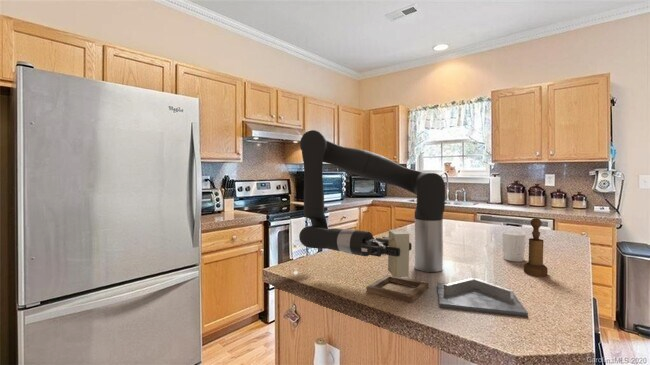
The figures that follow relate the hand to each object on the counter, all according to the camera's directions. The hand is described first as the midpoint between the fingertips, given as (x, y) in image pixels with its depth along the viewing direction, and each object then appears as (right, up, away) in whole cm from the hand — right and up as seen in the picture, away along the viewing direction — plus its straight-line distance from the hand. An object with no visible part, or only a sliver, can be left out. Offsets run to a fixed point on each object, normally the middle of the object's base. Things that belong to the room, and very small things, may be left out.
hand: (405, 249), depth 89 cm
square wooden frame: (-2, -12, +2) cm, 12 cm away
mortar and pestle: (+46, -11, +15) cm, 50 cm away
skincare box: (-2, -7, +1) cm, 8 cm away
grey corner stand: (+17, -12, -6) cm, 22 cm away
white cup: (+49, -11, +32) cm, 60 cm away
